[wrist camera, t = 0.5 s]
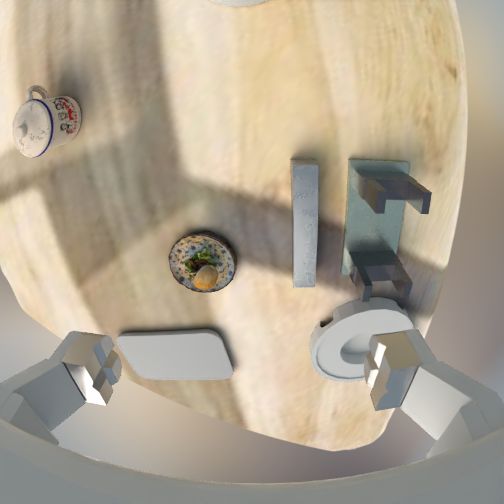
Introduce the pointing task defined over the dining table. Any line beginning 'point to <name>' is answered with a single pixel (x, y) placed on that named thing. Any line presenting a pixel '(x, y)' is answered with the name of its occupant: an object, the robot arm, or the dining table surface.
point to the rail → (304, 220)
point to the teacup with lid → (45, 122)
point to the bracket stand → (378, 222)
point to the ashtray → (353, 336)
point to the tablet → (177, 354)
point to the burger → (203, 262)
